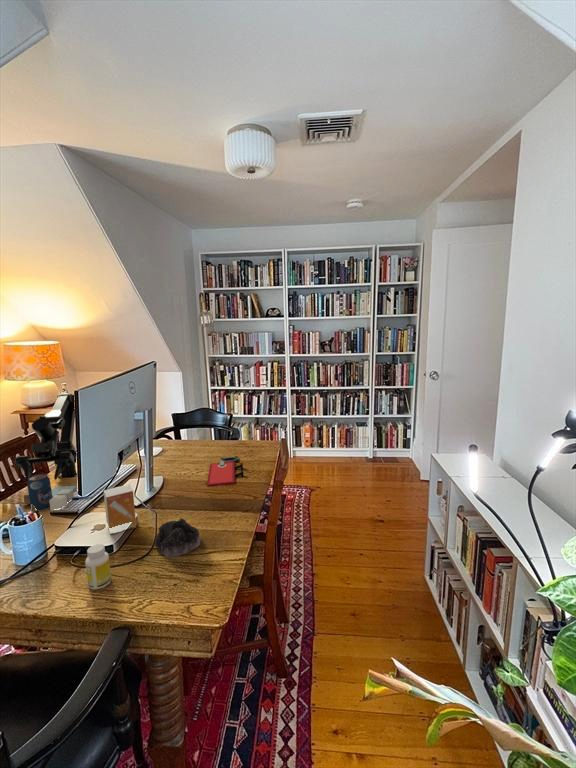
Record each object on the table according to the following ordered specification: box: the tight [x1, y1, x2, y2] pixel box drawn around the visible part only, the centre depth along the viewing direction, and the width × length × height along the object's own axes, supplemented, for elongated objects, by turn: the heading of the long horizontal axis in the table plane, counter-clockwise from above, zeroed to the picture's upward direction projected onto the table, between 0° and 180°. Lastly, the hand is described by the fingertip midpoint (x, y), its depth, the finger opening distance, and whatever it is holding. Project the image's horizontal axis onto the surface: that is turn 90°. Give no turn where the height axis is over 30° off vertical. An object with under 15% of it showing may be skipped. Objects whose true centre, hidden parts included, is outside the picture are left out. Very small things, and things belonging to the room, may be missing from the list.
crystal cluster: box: [154, 518, 201, 558], centre depth 110 cm, size 13×14×10 cm
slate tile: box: [51, 485, 78, 498], centre depth 148 cm, size 9×9×1 cm
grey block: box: [57, 489, 75, 502], centre depth 141 cm, size 4×4×4 cm
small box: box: [103, 484, 137, 529], centre depth 121 cm, size 8×6×13 cm
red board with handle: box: [206, 455, 244, 487], centre depth 167 cm, size 30×3×15 cm
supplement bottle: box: [84, 543, 112, 590], centre depth 95 cm, size 5×5×10 cm
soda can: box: [26, 473, 52, 512], centre depth 136 cm, size 7×7×12 cm
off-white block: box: [49, 495, 67, 511], centre depth 136 cm, size 4×4×4 cm
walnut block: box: [23, 491, 30, 505], centre depth 141 cm, size 4×4×4 cm
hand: (41, 480), depth 138 cm, fingers open, 9 cm apart
